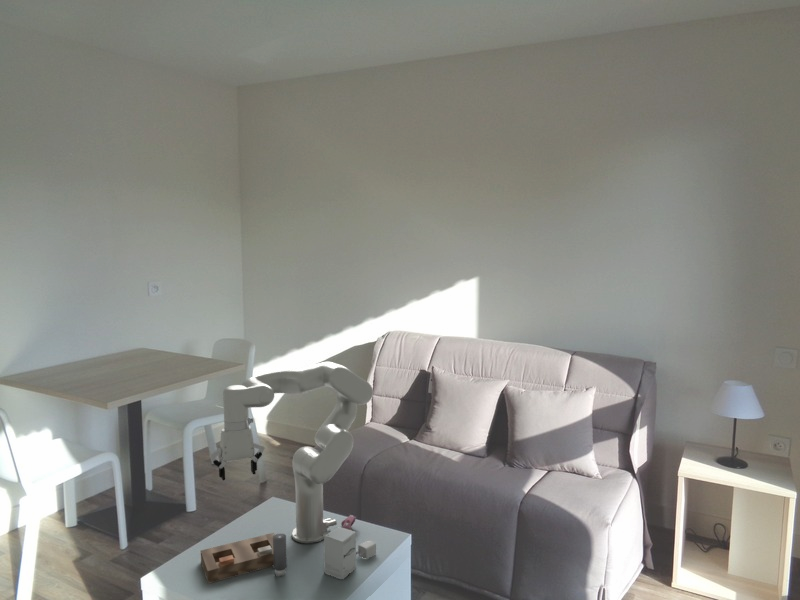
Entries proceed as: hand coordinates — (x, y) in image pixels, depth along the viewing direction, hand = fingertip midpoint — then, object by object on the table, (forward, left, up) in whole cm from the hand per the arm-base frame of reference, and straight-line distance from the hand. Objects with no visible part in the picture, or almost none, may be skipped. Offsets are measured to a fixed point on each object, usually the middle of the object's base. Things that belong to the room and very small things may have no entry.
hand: (238, 475), depth 188 cm
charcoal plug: (-9, +14, -28) cm, 33 cm away
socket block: (0, +3, -28) cm, 28 cm away
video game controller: (-37, +1, -29) cm, 47 cm away
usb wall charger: (-36, +18, -29) cm, 49 cm away
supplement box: (-26, +22, -29) cm, 44 cm away
